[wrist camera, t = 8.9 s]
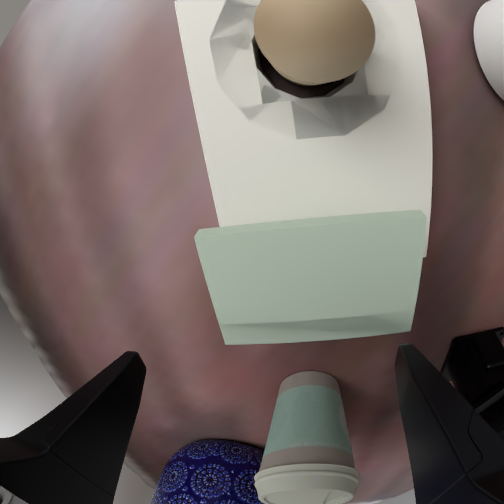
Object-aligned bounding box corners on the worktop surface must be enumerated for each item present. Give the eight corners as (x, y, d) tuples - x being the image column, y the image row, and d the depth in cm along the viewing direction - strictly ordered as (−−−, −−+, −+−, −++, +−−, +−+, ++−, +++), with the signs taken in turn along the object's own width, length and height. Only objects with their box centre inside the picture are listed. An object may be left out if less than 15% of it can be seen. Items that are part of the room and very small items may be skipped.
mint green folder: (383, 262, 21) (410, 330, 15) (243, 273, 23) (225, 344, 16) (384, 171, 18) (426, 216, 12) (225, 187, 19) (193, 237, 13)
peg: (344, 83, 15) (383, 80, 8) (276, 89, 16) (264, 88, 9) (334, 20, 14) (363, -24, 7) (264, 26, 14) (244, -16, 7)
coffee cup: (317, 416, 31) (314, 513, 21) (250, 393, 30) (232, 500, 20) (369, 378, 27) (383, 491, 17) (298, 348, 26) (292, 480, 15)
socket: (411, 234, 19) (426, 256, 17) (238, 249, 22) (230, 273, 19) (390, -15, 12) (406, -29, 9) (190, 4, 14) (172, -8, 11)
